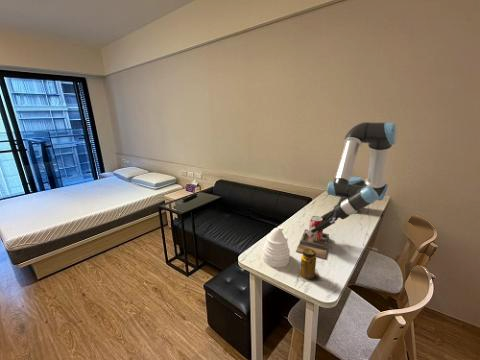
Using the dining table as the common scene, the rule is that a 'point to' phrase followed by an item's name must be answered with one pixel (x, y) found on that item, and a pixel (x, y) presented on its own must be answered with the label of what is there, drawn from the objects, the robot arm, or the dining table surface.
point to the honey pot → (276, 249)
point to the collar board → (314, 245)
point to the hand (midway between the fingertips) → (309, 230)
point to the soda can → (314, 222)
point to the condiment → (309, 266)
